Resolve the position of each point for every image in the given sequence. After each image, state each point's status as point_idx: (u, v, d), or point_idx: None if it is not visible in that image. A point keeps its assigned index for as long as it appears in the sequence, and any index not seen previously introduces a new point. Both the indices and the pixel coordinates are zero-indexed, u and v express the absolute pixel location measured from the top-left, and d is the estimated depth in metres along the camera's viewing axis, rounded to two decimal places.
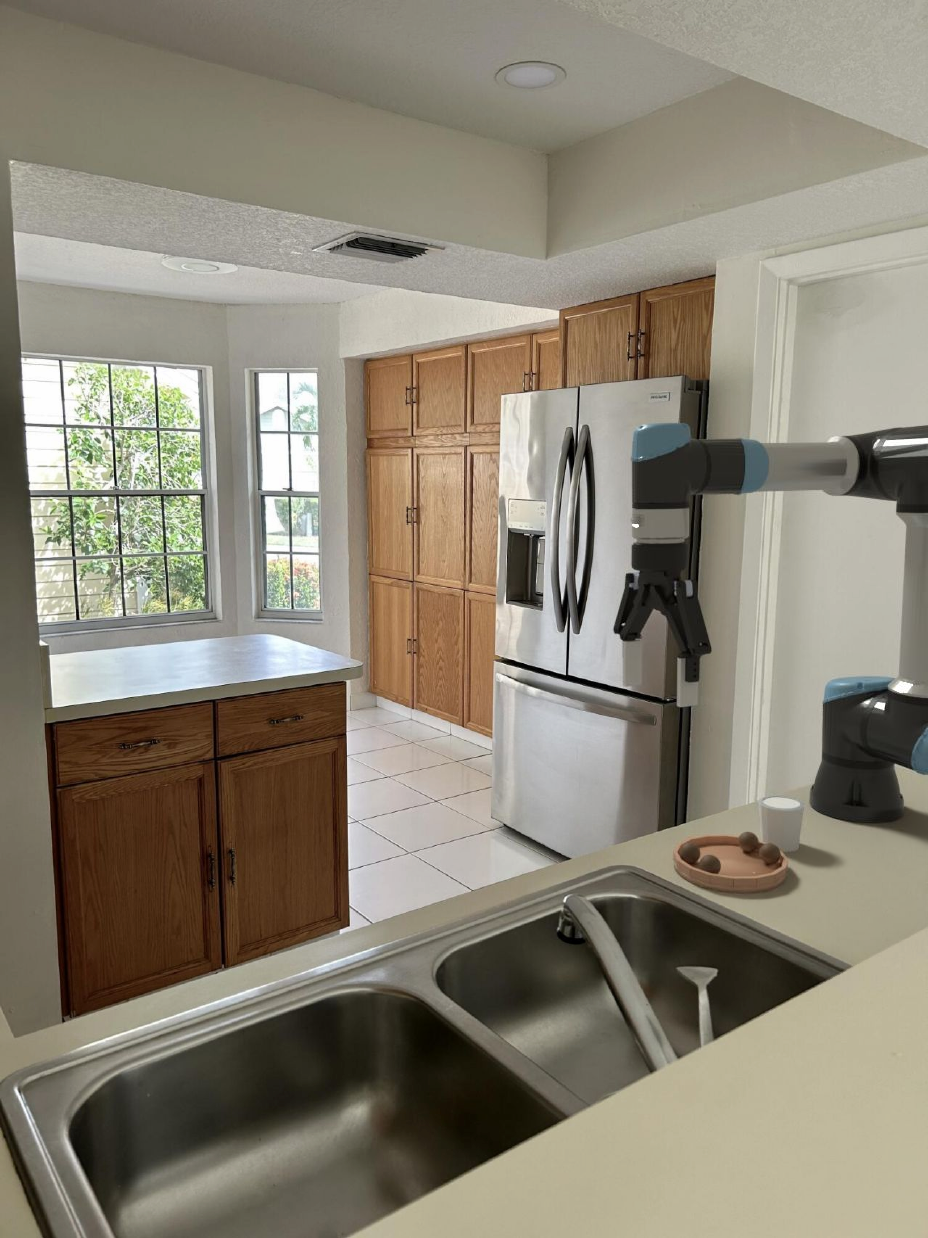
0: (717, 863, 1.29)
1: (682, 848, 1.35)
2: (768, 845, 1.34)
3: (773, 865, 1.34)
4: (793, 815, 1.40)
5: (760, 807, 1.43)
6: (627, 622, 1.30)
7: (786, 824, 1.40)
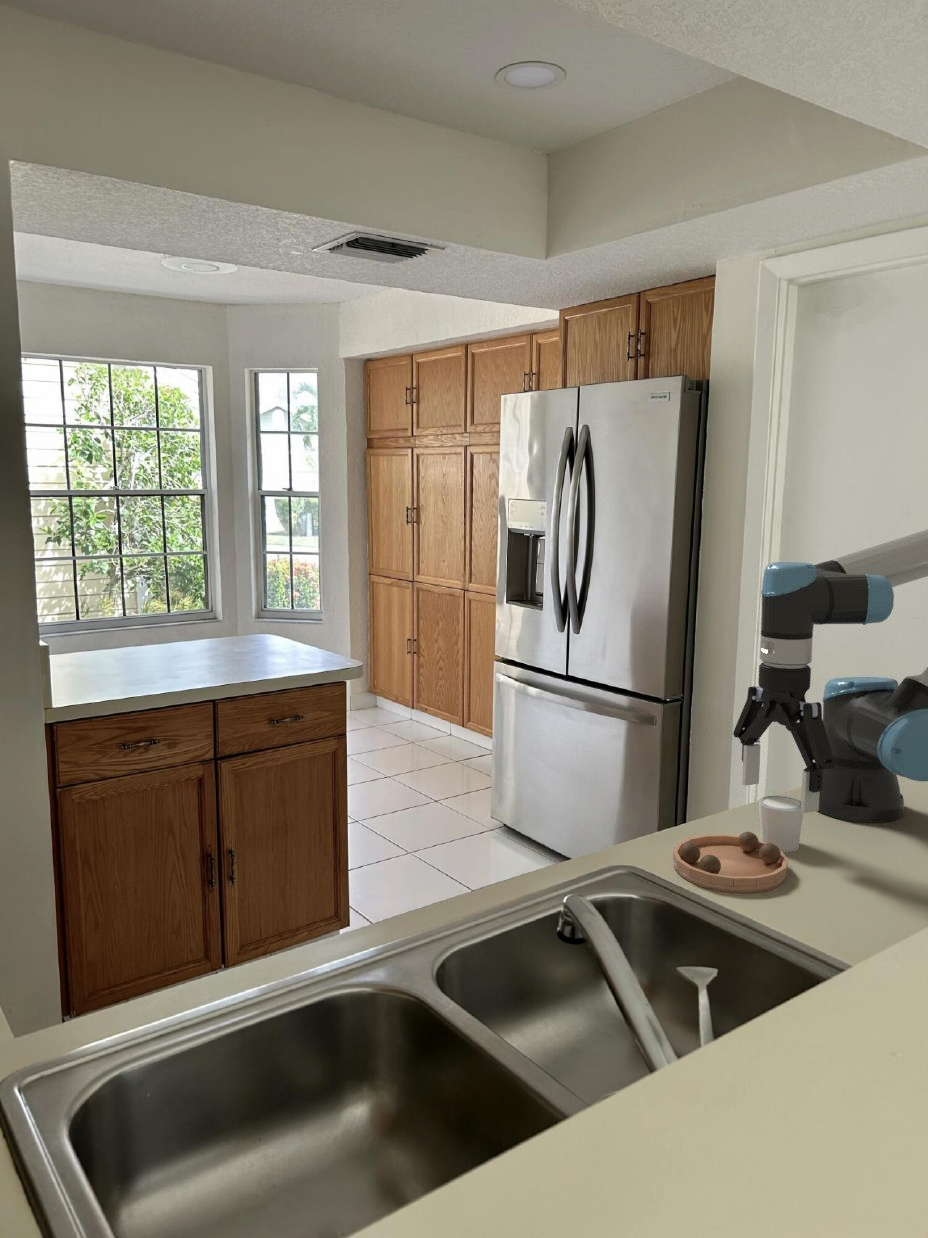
0: (717, 863, 1.29)
1: (682, 848, 1.35)
2: (768, 845, 1.34)
3: (773, 865, 1.34)
4: (793, 815, 1.40)
5: (760, 807, 1.43)
6: (749, 729, 1.46)
7: (786, 824, 1.40)
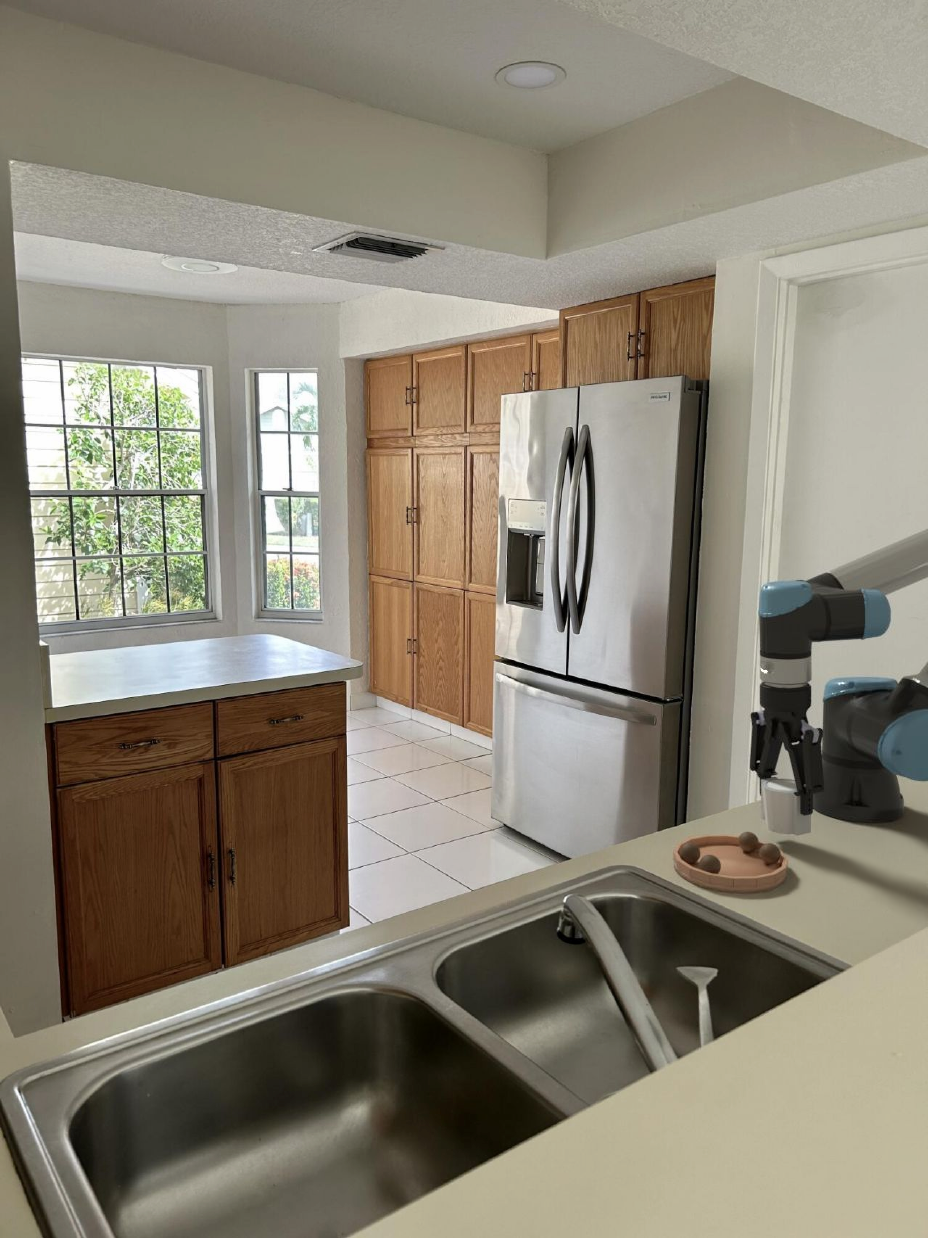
0: (717, 863, 1.29)
1: (682, 848, 1.35)
2: (768, 845, 1.34)
3: (773, 865, 1.34)
4: None
5: (764, 790, 1.42)
6: (762, 759, 1.45)
7: (790, 806, 1.40)
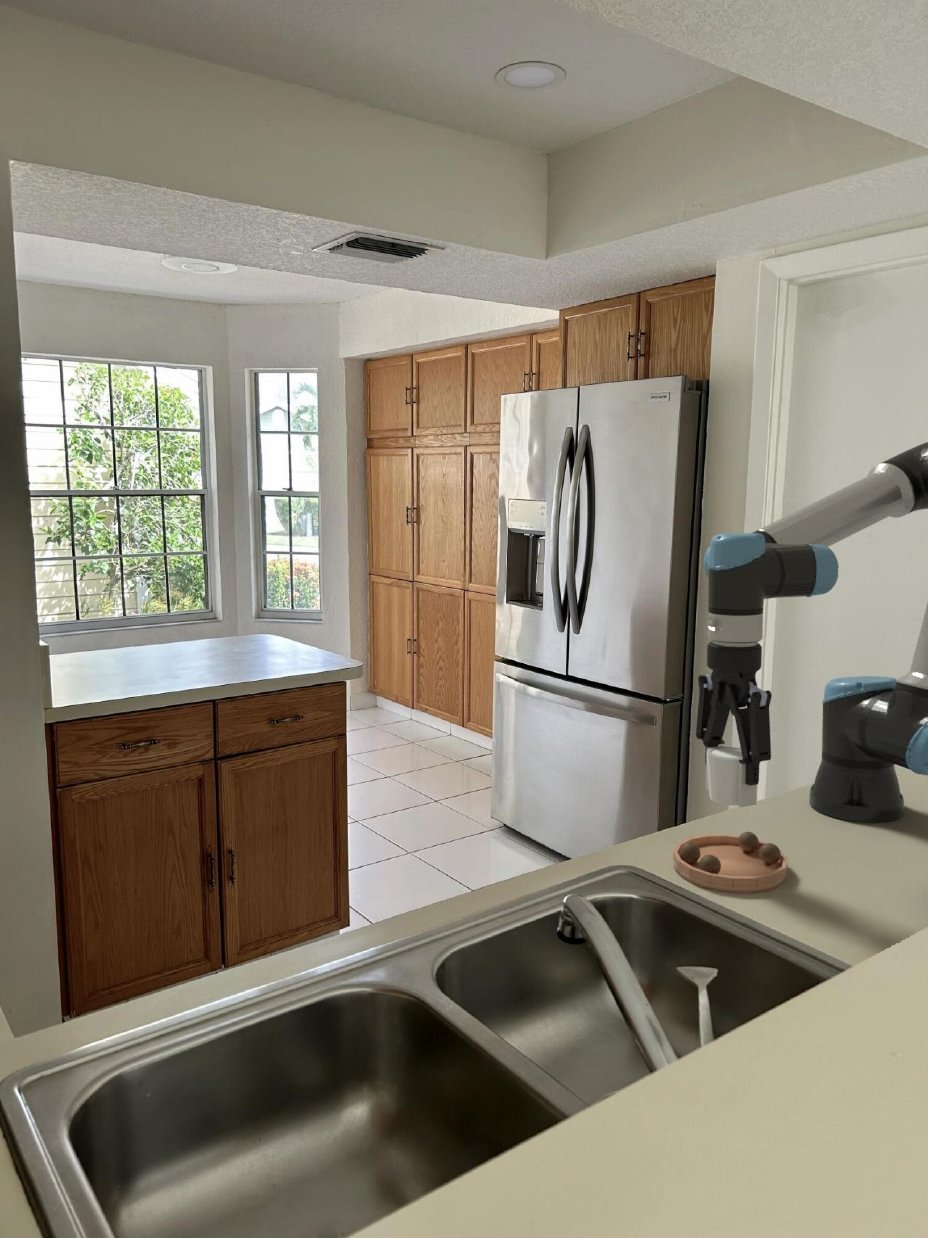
0: (717, 863, 1.29)
1: (682, 848, 1.35)
2: (768, 845, 1.34)
3: (773, 865, 1.34)
4: None
5: (708, 757, 1.32)
6: (708, 726, 1.35)
7: (735, 775, 1.29)
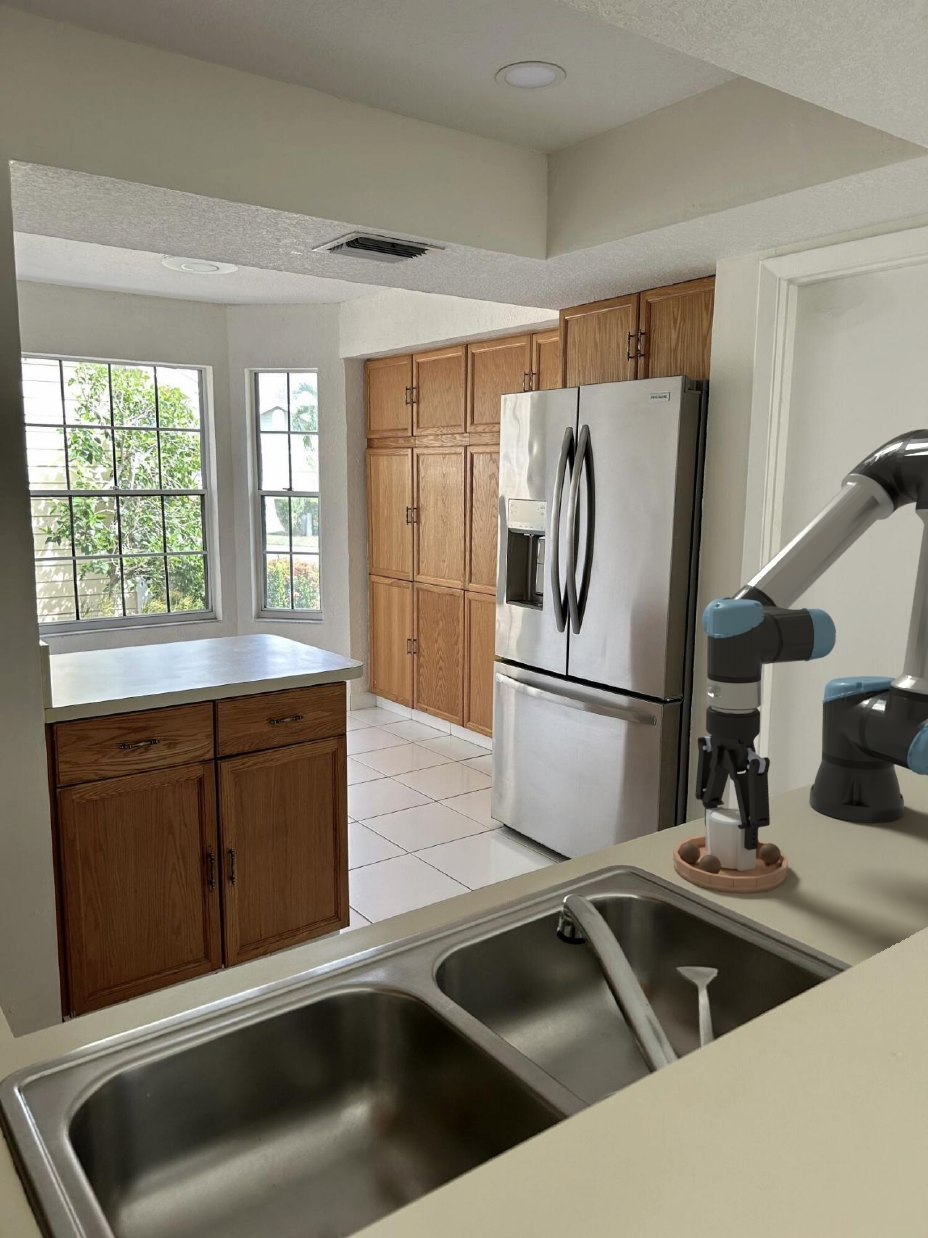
0: (717, 863, 1.29)
1: (682, 848, 1.35)
2: (768, 845, 1.34)
3: (773, 865, 1.34)
4: None
5: (707, 820, 1.34)
6: (707, 788, 1.37)
7: (734, 839, 1.31)
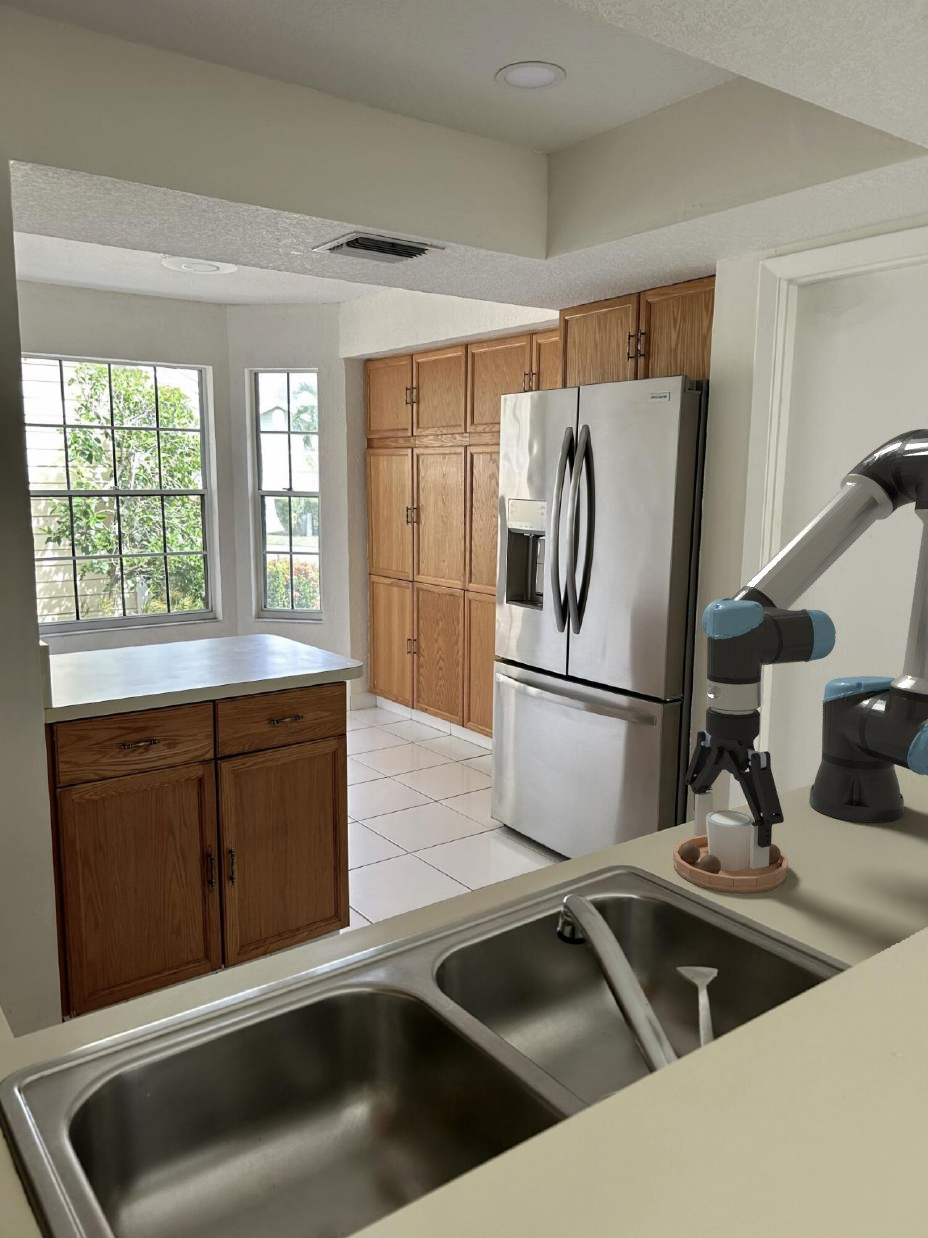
0: (717, 863, 1.29)
1: (682, 848, 1.35)
2: None
3: (773, 865, 1.34)
4: (741, 832, 1.31)
5: (707, 823, 1.34)
6: (699, 777, 1.38)
7: (734, 841, 1.31)
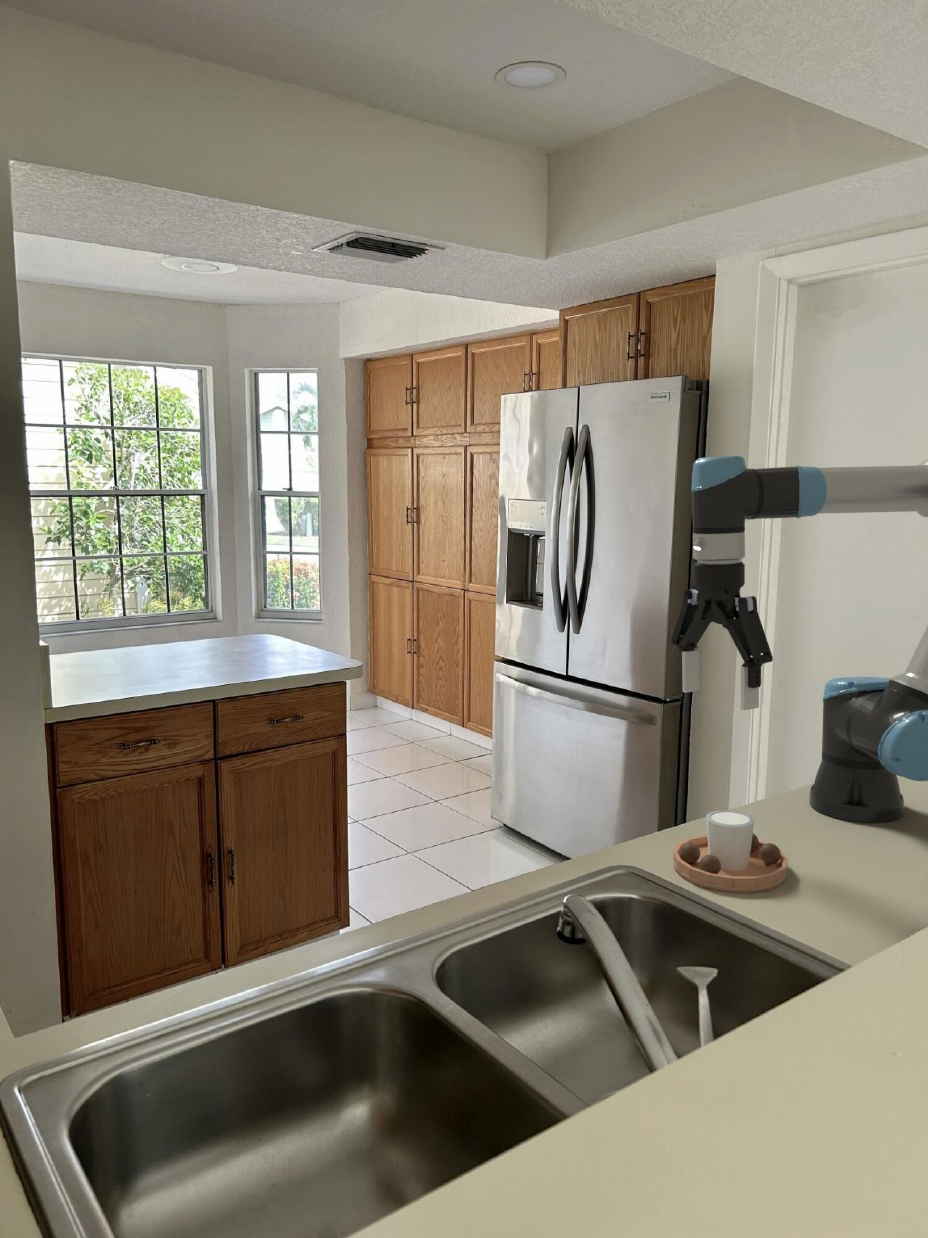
0: (717, 863, 1.29)
1: (682, 848, 1.35)
2: (768, 845, 1.34)
3: (773, 865, 1.34)
4: (741, 832, 1.31)
5: (707, 823, 1.34)
6: (686, 634, 1.43)
7: (734, 841, 1.31)
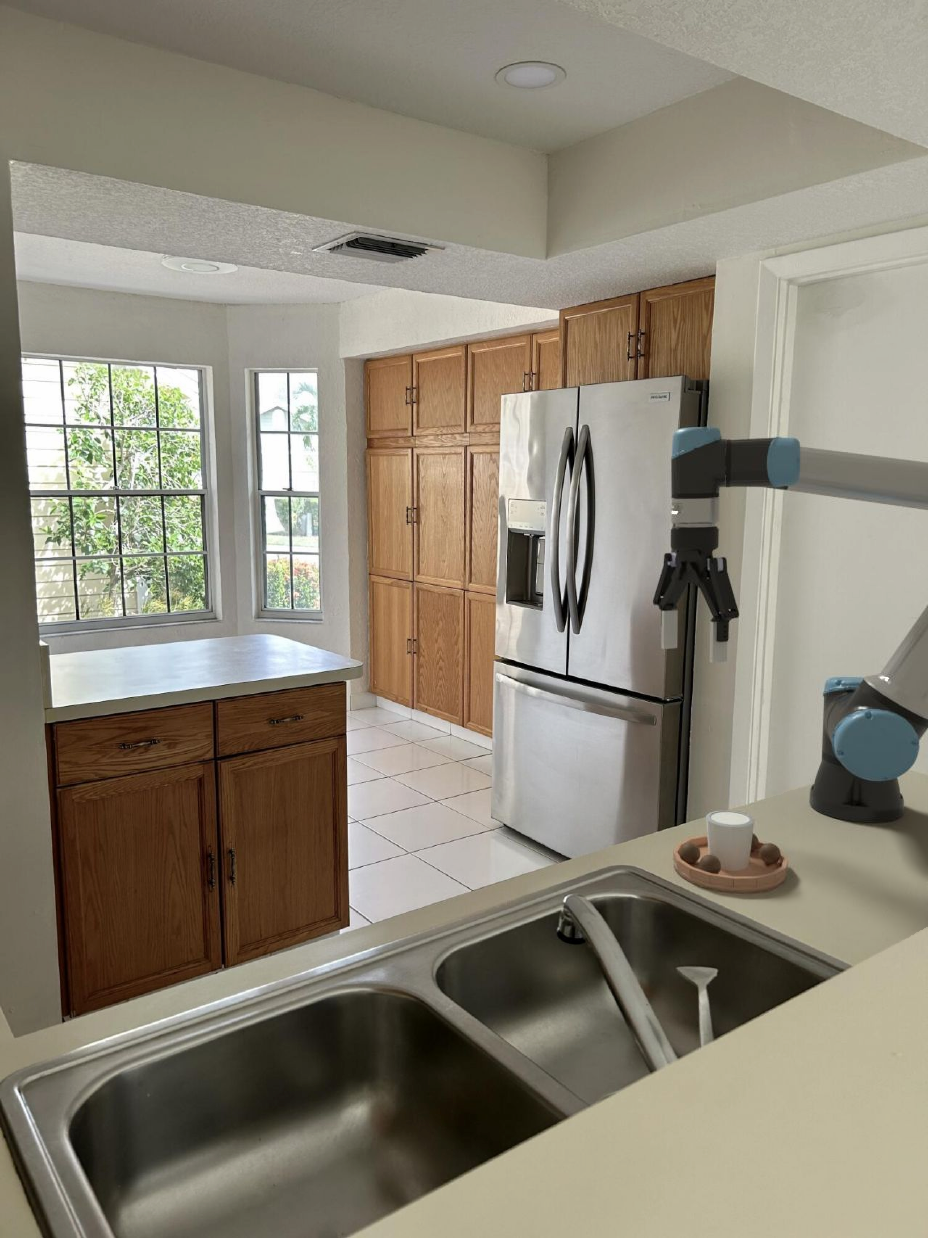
0: (717, 863, 1.29)
1: (682, 848, 1.35)
2: (768, 845, 1.34)
3: (773, 865, 1.34)
4: (741, 832, 1.31)
5: (707, 823, 1.34)
6: (665, 594, 1.54)
7: (734, 841, 1.31)
